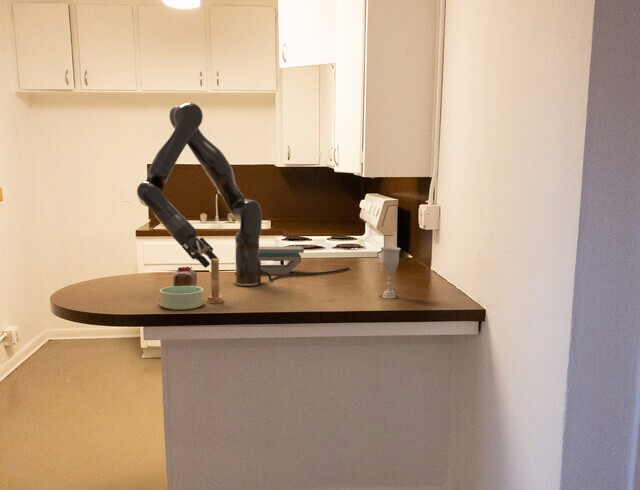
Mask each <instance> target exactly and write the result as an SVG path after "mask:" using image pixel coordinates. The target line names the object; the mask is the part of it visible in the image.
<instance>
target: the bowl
mask: <svg viewBox="0 0 640 490" xmlns="http://www.w3.org/2000/svg"><path fill="white" fill-rule="evenodd" d="M204 301H205V300H204V289H203V287H200V286H197V285H196V286H174V285H172V286H171V285H170V286H166V287H162V288H160V289H159V305H160V307H162V308H164V309H167V310H174V311H186V310H193V309H197V308H199V307H202V306H203V305H204Z"/></svg>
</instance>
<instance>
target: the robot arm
mask: <svg viewBox="0 0 640 490" xmlns="http://www.w3.org/2000/svg"><path fill="white" fill-rule="evenodd" d="M203 118H204V114H203V110H202V109H201V107H200V106H199V105H198V104H196V103H193V102H186V103H181V104H177V105H174V106H173V107H172V108H171V109H170V111H169V121H170V124H171V126H172V127H173V128H174V130H173V132H172V133H171V135H170V137H169V138H168V140H166V142H165V143H164V144H163V145H162V147H160V149H159V150H158V152H157V153H156V155H155V157H154V158H153V160H152V162H151V164H150V166H149V169H148V171H147V176H146V179H145V181H142V182H141V183H139V184H138V186H137V189H136V195H137V197H138V200H139V203H140V204H141V205H142V206H144V207H147V208H149V209H150V210H151V212H152V213H153V215H154V217H155V218H156V219H157V221H159V223H160V224H161V225H162V226H163V227H164V228H165V229H166V231H167V233H169V235H170V236H171V237H172V238H173V239H174V240H175V242H176V243H178V244H179V245H180V247H182V249H183V250H184V251H185V252H186V254H187V255H188V257H190V258H191V259H192V260H196V261H197V262H199V264H201V265H202V267H204V268H205V269H206V268H208V267H209V266H211V262H210V261H211V259H219V257H218V256H216V254H215V253H214V252H213V251H214V248H213V247H212V245H210V244H209V242H208V241H206V239H204V237H200V238H198V237H197V235H198V230H197V229H196V227H194V226H193V225H192V224H191V222H190V221H189V220H188V219H187V218H186V217H185V216H184V215H183V214H182V213H180V212H179V211H178V210H177V209H176V207H175V206H173V204H172V203H171V202H170V201H169V200H168V199H167V198H166V196H165V194H163V193H164V189H165V186H166V183H167V181H168V179H169V177H170V175H171V173H172V171H173V169H174V167H175V166H176V163H177V161H178V159H179V158H180V156H181V154H182V152H183V151H184V149H185V147H186V146H188V147H189V149H190V150H191V152H192V154H193V155H194V157H195V158H196V160H197V162H199V165H201V167H202V169H203V170H204V172H205V174H206V176H207V177H208V178H209V180H210V182H211V183H212V184H213V186H214V187H215V189H216V190H217V191H218V192H219V194H220V195H221V198H222V199H223V201H224V202H225V204H226V206H227V209H228V210H229V212H230V214H231V216H232V217H233V219H234V220H235V221H236V222H237V223H240V224H239V231H238V232H236V233H235V235H234V238H235V239H234V240H235V243H234V245H235V246H234V248H235V249H234V250H235V251H234V253H235V272H234V276H235V285H237V286H238V287H239V286H240V287H254V286H255V287H256V286H262V285H261V284H262V276H264V275H267V277H268V280H269V281H270V282H273V281H275V280H277V279H280V278H284V277H285V278H286V277H297V276H299V277H300V276H313V275H314V276H315V275H326V274H334V273H339V272H343V271H346V270H347V271H348V270H349V269H350V266H347V267H344V268H340V269H334V270H326V271H315V272H301V273H300V272H299V273H289V274H277V275H276V276H274V277H273V278H272V276H271V274H269V273H267V272H265V271H263V269H261V265H262V261H260V260H259V247H260V236H261V234H262V222H263V213H262V207H261V204H260V203H258V201H256V200H252V199H247V198H245V196H244V195H243V193H242V192H241V190H240V189H239V187H238V185H237V182H236V179H235V174H234V170H233V168H232V165H231V164H230V163H229V161H228V159H227V157H226V156H225V155H224V153H223V152H222V151H221V149H220V148H219V147H217V146H216V145H215V144H214V143H212V142H211V141H210V140H209V139H208V138H207V137H205V135H204V134H203V133H202V131H201V130H200V128H199V127H200V126H201V124H202V123H203ZM204 255H205V256H207V258H208V259H209V261H208V259H207V258H206V257H205V256H204ZM263 273H264V274H263Z"/></svg>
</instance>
